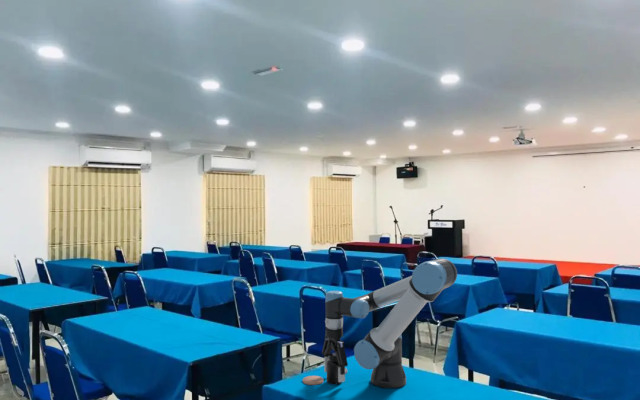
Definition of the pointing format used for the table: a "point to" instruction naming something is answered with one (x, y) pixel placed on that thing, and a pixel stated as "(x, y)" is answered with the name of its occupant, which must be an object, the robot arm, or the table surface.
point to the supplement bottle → (332, 369)
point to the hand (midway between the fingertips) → (334, 376)
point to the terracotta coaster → (312, 380)
